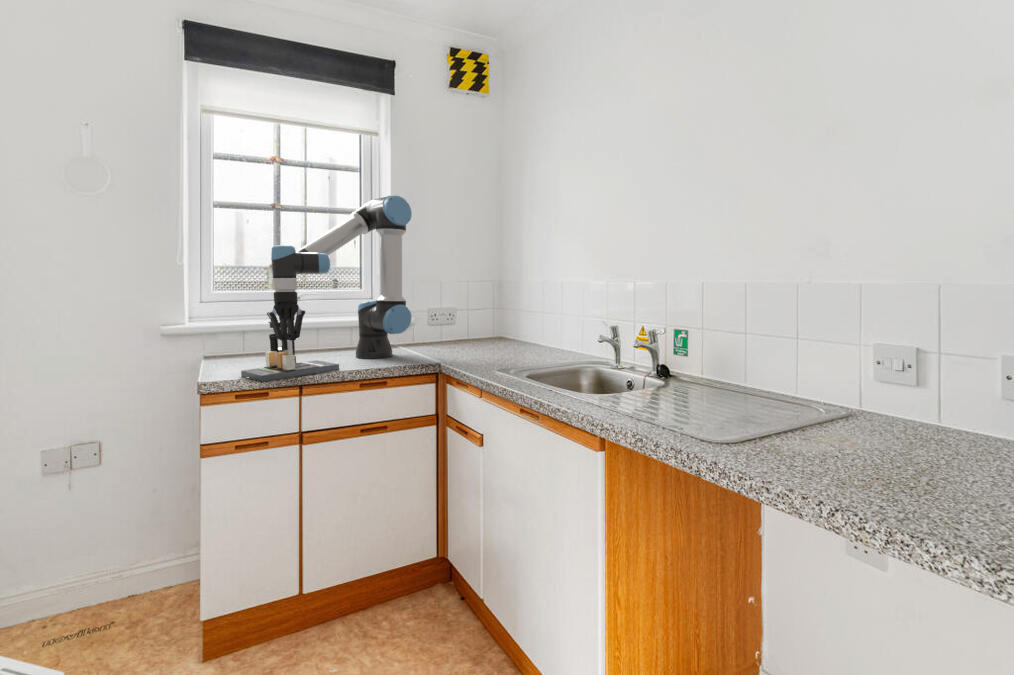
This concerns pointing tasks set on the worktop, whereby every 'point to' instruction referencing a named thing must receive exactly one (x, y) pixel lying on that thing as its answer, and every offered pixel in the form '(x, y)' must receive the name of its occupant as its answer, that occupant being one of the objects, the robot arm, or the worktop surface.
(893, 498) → the worktop surface
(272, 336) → the french press
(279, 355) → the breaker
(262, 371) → the panel
